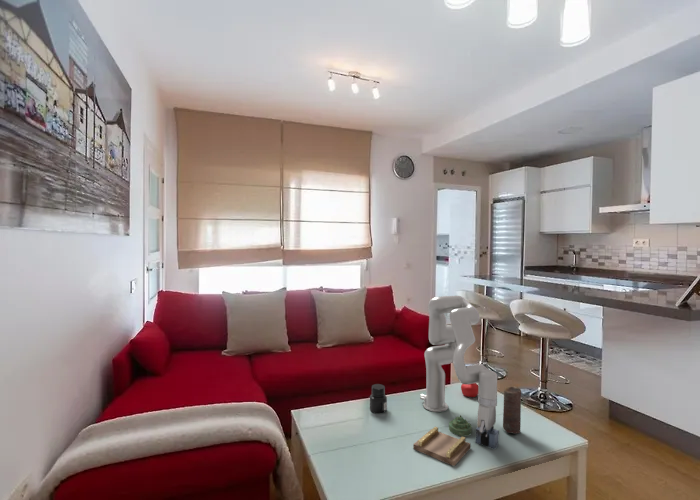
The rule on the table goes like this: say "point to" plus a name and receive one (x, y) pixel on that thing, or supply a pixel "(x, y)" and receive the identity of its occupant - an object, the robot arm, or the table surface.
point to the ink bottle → (378, 399)
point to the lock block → (492, 436)
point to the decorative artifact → (460, 427)
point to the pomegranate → (469, 390)
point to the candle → (512, 409)
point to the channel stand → (442, 446)
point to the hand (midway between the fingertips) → (487, 441)
